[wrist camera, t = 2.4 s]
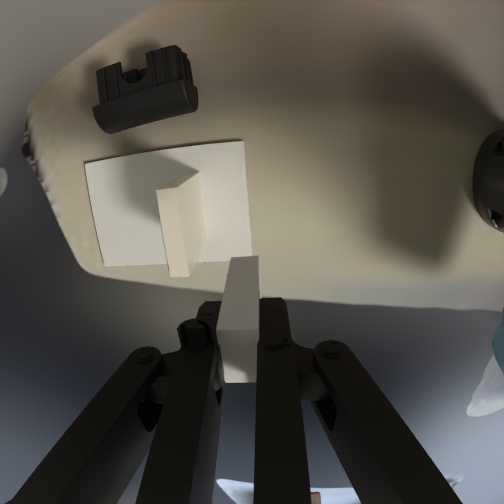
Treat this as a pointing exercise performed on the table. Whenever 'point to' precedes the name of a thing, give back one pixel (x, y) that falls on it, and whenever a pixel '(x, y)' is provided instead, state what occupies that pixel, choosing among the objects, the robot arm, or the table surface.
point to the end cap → (145, 91)
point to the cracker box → (315, 498)
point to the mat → (146, 208)
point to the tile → (182, 222)
